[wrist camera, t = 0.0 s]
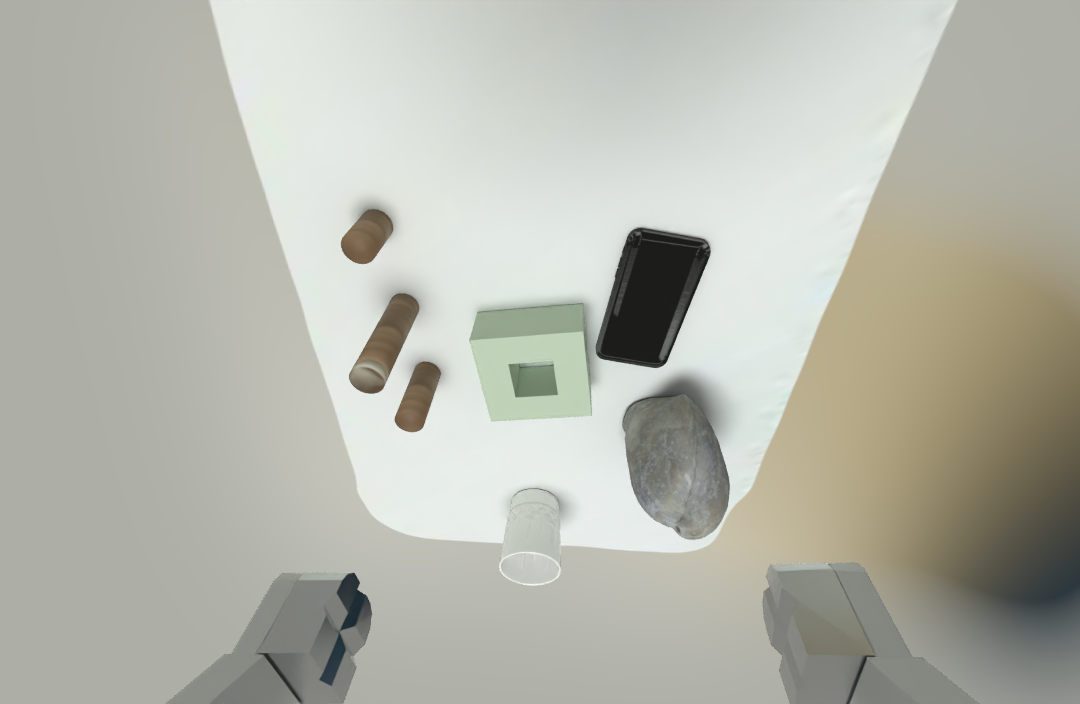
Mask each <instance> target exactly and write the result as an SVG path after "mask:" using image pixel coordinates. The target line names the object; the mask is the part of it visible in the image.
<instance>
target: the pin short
mask: <svg viewBox="0 0 1080 704" xmlns="http://www.w3.org/2000/svg"><path fill="white" fill-rule="evenodd" d="M392 231H393V225H392V222H391V220H390V218H389V217H388V216H387V215H386V214H385V213H383V212H382V211H379V210H374V209H373V210H368V211H366V212H365V213H364V214H363V215H362V216H361V217H360V218H359V219H358V221H357V222H356V223H355V224H354V225H353V226H352V227H351V229H350V230H349V231H348V232H347V233H346V234H345V235H344V237H343V238H342V241H341V248H342V251H343V252H344V254H345V255H346V256H347V258H349V259H350V260H351V261H353V262H355V263H359V264H367V263H369V262H371V261H372V260H373V259H374V258H375V256H376V255H377V254H378V252H379V251H380V249H381V248H382V247H383V245H384V244H385V242H386V241H387V239H388V238H389V237H390V235H391V234H392Z"/></svg>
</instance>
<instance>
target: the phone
mask: <svg viewBox="0 0 1080 704" xmlns="http://www.w3.org/2000/svg"><path fill="white" fill-rule="evenodd" d="M710 253H711V251H710V247H709V245H708V243H707V242H706V241H705V240H703V239H700V238H694V237H689V236H683V235H677V234H672V233H666V232H661V231H655V230H650V229H644V228H638V229H635V230H633V231H631V232H630V234H629V235H628V237H627V240H626V244H625V247H624V249H623V254H622V257H621V258H620V262H619V265H618V267H619V268H618V269H617V272H616V275H615V277H616V278H615V282H614V285H613V289H612V292H611V296H610V299H609V302H608V306H607V309H606V313H605V316H604V320H603V323H602V327H601V330H600V334H599V337H598V341H597V344H596V354H597V356H598V357H599V358H601V359H604V360H610V361H616V362H622V363H628V364H634V365H640V366H646V367H652V368H658V367H661V366H663V365H664V364H666V362H667V360H668V357H669V355H670V353H671V350H672V348H673V345H674V343H675V340H676V338H677V335H678V333H679V330H680V328H681V325H682V323H683V321H684V318H685V316H686V313H687V311H688V308H689V306H690V303H691V301H692V298H693V296H694V294H695V291H696V289H697V286H698V284H699V281H700V279H701V276H702V274H703V271H704V269H705V266H706V264H707V262H708V259H709V257H710Z"/></svg>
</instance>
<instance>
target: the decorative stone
mask: <svg viewBox="0 0 1080 704" xmlns="http://www.w3.org/2000/svg"><path fill="white" fill-rule="evenodd" d="M622 427H623V429H624V431H625V433H626V436H625V443H626V455H627V461H628V467H629V472H630V479H631V484H632V487H633V490H634V493H635V495H636V497H637V500H638V502H639V504H640V505H641V506H642V508H643V509H644V510H645V511H646V512H647V513H648V515H649V516H650V517H652V518H653V519H654V520H655V521H657V522H659V523H661V524H663V525H665V526H668V527H672V528H673V529H674V530H675V531H676V532H677V534H679V535H680V536H681V537H683V538H685V539H692V540H695V539H701V538H703V537H705V536H707V535H709V534H710V533H712V532H713V531H714V530H715V529H716V528H717V526H718V525H719V524H720V522H721V520H722V519H723V517H724V514H725V512H726V510H727V507H728V500H729V490H730V484H729V477H728V473H727V469H726V465H725V462H724V459H723V455H722V452H721V449H720V445H719V442H718V440H717V438H716V435H715V433H714V431H713V429H712V427H711V425H710V424H709V422H708V420H707V418H706V417H705V415H704V413H703V412H702V411H701V410H700V409H699V408H698V407H697V406H696V405H695V403H694V401H693V400H692V399H690V398H689V397H688V396H687V395H685V394H681V395H679V396H673V397H664V398H650V399H646V400H642V401H640V402H637V403H635V404H633V405H632V406H631V407H630V408H629V410H628V411H627V412H626V415H625V418H624V421H623V424H622Z"/></svg>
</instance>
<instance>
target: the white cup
mask: <svg viewBox="0 0 1080 704" xmlns="http://www.w3.org/2000/svg"><path fill="white" fill-rule="evenodd" d="M499 569H500V572H501V573H502V574H503V575H504V576H505V577H506V578H507V579H509V580H511V581H513V582H516V583H520V584H525V585H542V584H547V583H550V582H552V581H554V580H555V579H557V578H558V577H559V575H560V573H561V541H560V522H559V503H558V501H557V499H556V497H555V496H553V495H552V494H550V493H549V492H547V491H543V490H540V489H526V490H523V491H521V492H518V493H517V494H516V495H515V496H514V497H513V498H512V503H511V509H510V513H509V516H508V521H507V525H506V529H505V535H504V541H503V546H502V552H501V557H500V563H499Z"/></svg>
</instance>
